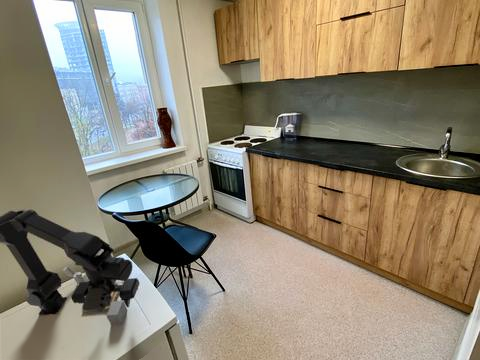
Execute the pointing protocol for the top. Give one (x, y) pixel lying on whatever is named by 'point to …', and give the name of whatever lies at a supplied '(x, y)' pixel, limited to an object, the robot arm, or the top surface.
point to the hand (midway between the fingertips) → (114, 307)
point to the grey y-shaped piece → (76, 275)
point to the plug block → (116, 312)
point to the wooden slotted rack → (114, 297)
